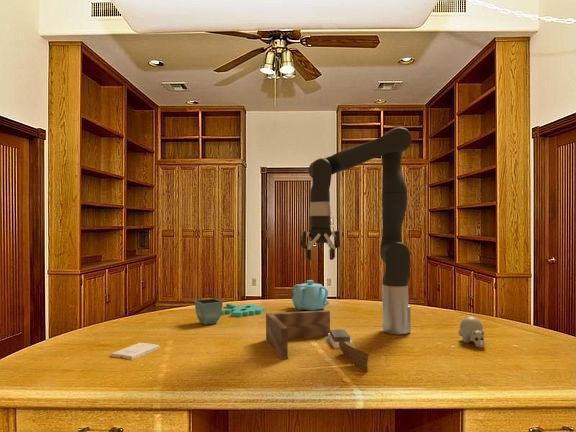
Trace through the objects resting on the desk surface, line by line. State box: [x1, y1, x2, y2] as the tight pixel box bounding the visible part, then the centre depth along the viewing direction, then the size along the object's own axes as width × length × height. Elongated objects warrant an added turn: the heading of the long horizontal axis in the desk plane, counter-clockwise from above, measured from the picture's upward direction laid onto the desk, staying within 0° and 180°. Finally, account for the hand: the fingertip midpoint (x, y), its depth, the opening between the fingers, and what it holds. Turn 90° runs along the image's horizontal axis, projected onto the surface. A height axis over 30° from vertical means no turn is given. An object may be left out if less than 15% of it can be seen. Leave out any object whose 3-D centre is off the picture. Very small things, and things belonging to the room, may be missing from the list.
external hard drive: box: [110, 342, 160, 360], centre depth 132 cm, size 2×8×12 cm
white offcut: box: [327, 333, 354, 349], centre depth 140 cm, size 6×12×2 cm, turn 3°
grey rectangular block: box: [330, 328, 351, 342], centre depth 140 cm, size 5×10×2 cm, turn 3°
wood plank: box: [339, 340, 370, 373], centre depth 121 cm, size 15×2×5 cm, turn 21°
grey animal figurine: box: [457, 315, 485, 349], centre depth 140 cm, size 7×12×8 cm, turn 178°
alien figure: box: [221, 302, 265, 318], centre depth 193 cm, size 20×2×20 cm
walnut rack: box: [265, 309, 331, 360], centre depth 138 cm, size 22×22×9 cm
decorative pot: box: [291, 279, 330, 311], centre depth 199 cm, size 16×16×14 cm
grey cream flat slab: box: [323, 336, 357, 350], centre depth 140 cm, size 7×14×2 cm, turn 9°
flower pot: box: [194, 298, 224, 326], centre depth 170 cm, size 9×9×9 cm
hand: (320, 260), depth 152 cm, fingers open, 8 cm apart
